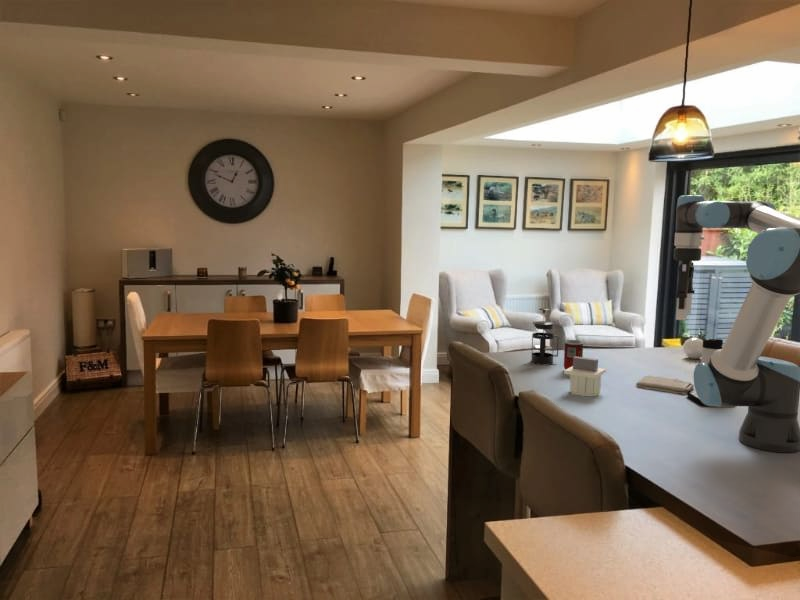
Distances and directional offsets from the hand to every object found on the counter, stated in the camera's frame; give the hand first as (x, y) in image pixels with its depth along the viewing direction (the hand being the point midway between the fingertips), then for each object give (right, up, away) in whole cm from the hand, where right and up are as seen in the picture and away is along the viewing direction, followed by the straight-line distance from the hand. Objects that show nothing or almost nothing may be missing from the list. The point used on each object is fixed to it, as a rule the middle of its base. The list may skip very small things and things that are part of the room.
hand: (683, 317), depth 196 cm
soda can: (-18, -23, +60) cm, 67 cm away
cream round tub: (-22, -27, +28) cm, 45 cm away
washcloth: (+9, -27, +37) cm, 47 cm away
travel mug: (+21, -28, +27) cm, 44 cm away
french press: (-26, -21, +76) cm, 83 cm away
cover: (-22, -20, +28) cm, 41 cm away
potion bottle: (+46, -21, +85) cm, 99 cm away
